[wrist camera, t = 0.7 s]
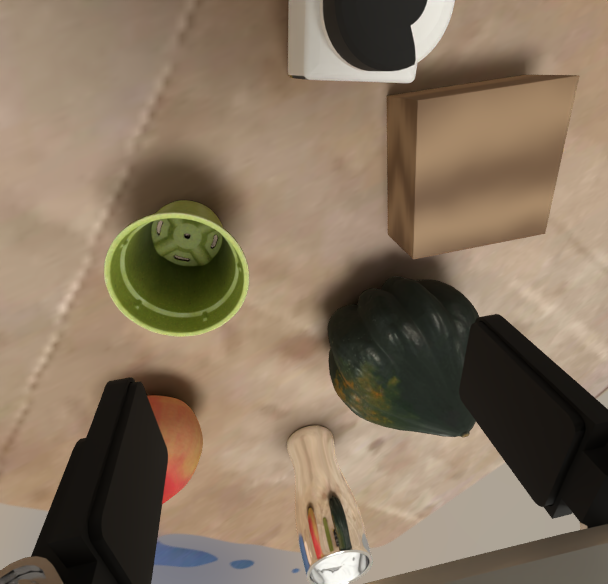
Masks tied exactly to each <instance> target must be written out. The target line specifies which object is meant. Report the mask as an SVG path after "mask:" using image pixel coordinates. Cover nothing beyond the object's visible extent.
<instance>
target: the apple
mask: <svg viewBox="0 0 608 584" xmlns="http://www.w3.org/2000/svg"><path fill="white" fill-rule="evenodd" d="M147 397H148V400H149V402H150V405H151V407H152V410H153V413H154V415H155V418H156V420H157V423H158V426H159V428H160V431H161V433H162V436H163V439H164V441H165V444H166V447H167V451H168V465H167V472H166V479H165V486H164V494H163V501H162V504H163V503H165V502H166V501H167V500H169V499H170V498H171V497H173V496H174V495H175V494H177V493H178V492H179V491H180V490H181V489H182V488H183V487H184V486H185V485H186V484H187V483H188V481H189V480H190V478H191V477H192V475H193V473H194V471H195V469H196V467H197V464H198V462H199V459H200V456H201V452H202V446H203V437H202V432H201V428H200V425H199V422H198V420H197V418H196V416H195V414H194V413H193V411H192V410H191V408H190V407H189V406H188V405H187V404H185V403H184V402H183V401H181V400H179V399H176V398H172V397H167V396H158V395H149V396H147Z"/></svg>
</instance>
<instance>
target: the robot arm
mask: <svg viewBox="0 0 608 584" xmlns="http://www.w3.org/2000/svg"><path fill="white" fill-rule="evenodd" d="M459 395H460V398H461V401H462V402H463V404H464V405H465V407H466V408H467V409H468V411H469V412H470V413H471V415H472V416H473V418H474V419H475V420H476V422H477V423H478V425H479V426H480V427H481V429H482V430H483V431H484V433H485V434H486V436H487V437H488V438H489V440H490V441H491V443H492V444H493V445H494V447H495V448H496V449H497V451H498V452H499V454H500V455H501V456H502V458H503V459H504V460H505V462H506V463H507V465H508V466H509V467H510V469H511V470H512V472H513V473H514V474H515V476H516V477H517V478H518V480H519V481H520V483H521V484H522V485H523V487H524V488H525V489H526V491H527V492H528V494H529V495H530V496H531V498H532V499H533V500H534V502H535V503H536V504H537V505H539V506H541V507H544V508H545V509H546V511H547V512H548V514H549V515H550V516H551V517H552V519H553V518H557V517H561V516H564V515H569V514H572V512H573V513H574V515H575V516H576V517H577V519H578V520H579V521H580V530H579V531H574V532H570V533H565V534H561V535H557V536H553V537H549V538H545V539H541V540H537V541H533V542H529V543H525V544H520V545H517V546H512V547H508V548H504V549H500V550H496V551H492V552H488V553H484V554H480V555H476V556H472V557H468V558H464V559H460V560H456V561H452V562H448V563H444V564H440V565H436V566H432V567H428V568H424V569H420V570H416V571H412V572H408V573H405V574H400V575H396V576H392V577H388V578H384V579H381V580H377V581H373V582H369V583H365V584H608V409H607V408H606V407H604V406H603V405H602V404H601V403H600V402H599V401H598V400H596V399H595V398H594V397H593V396H592V395H591V394H590V393H589V392H587V391H586V390H585V389H584V388H583V387H582V386H581V385H579V384H578V383H577V382H576V381H575V380H574V379H573V378H571V377H570V376H569V375H568V374H567V373H566V372H565V371H564V370H562V369H561V368H560V367H559V366H558V365H557V364H556V363H554V362H553V361H552V360H551V359H550V358H549V357H548V356H546V355H545V354H544V353H543V352H542V351H541V350H540V349H538V348H537V347H536V346H535V345H534V344H533V343H532V342H531V341H529V340H528V339H527V338H526V337H525V336H524V335H523V334H521V333H520V332H519V331H518V330H517V329H516V328H515V327H513V326H512V325H511V324H510V323H509V322H508V321H507V320H506V319H504V318H503V317H502V316H500V315H498V314H495V315H489V316H483V317H479V318H477V319H476V320H475V323H473V324H472V325H471V327H470V332H469V337H468V343H467V348H466V354H465V360H464V365H463V371H462V376H461V382H460V387H459ZM167 465H168V451H167V447H166V444H165V441H164V439H163V436H162V433H161V431H160V428H159V426H158V423H157V420H156V418H155V415H154V413H153V410H152V407H151V405H150V402H149V400H148V397H147V394H146V392H145V389H144V387H143V384H142V383H141V382H135V381H134V379H133V378H125V379H119V380H114V381H109V382H108V383H107V384H106V386H105V389H104V392H103V394H102V397H101V400H100V402H99V405H98V408H97V411H96V413H95V416H94V419H93V421H92V424H91V427H90V429H89V432H88V435H87V438H83V439H80V440H79V441H78V442H77V443H76V445H75V447H74V449H73V451H72V454H71V456H70V459H69V461H68V464H67V467H66V469H65V472H64V474H63V477H62V479H61V482H60V484H59V487H58V489H57V492H56V494H55V497H54V500H53V502H52V505H51V507H50V510H49V512H48V515H47V518H46V520H45V523H44V525H43V528H42V530H41V533H40V535H39V538H38V540H37V543H36V545H35V548H34V551H33V553H32V556H31V557H27V558H23V559H21V560H18V561H16V562H13V563H11V564H9V565H8V566H6V567H5V568H3V569H2V570H0V584H151V580H152V573H153V566H154V558H155V551H156V544H157V537H158V530H159V522H160V515H161V508H162V501H163V494H164V486H165V479H166V472H167Z"/></svg>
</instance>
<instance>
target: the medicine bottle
mask: <svg viewBox="0 0 608 584" xmlns="http://www.w3.org/2000/svg"><path fill="white" fill-rule="evenodd" d="M454 2H455V0H289V12H288V75H289V76H290V77H291V78H297V79H306V80H329V81H358V82H387V83H411V82H412V81H413V80H414V79H415V75H416V69H417V63H418V62H419V61H421V60H422V59H423V58H424V57H426V56H427V55H428V54H429V53H430V52H431V51H432V50H433V48H434V47H435V46H436V45H437V43H438V42H439V41H440V39H441V37H442V36H443V34H444V32H445V30H446V28H447V26H448V23H449V21H450V18H451V15H452V12H453V7H454Z"/></svg>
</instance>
